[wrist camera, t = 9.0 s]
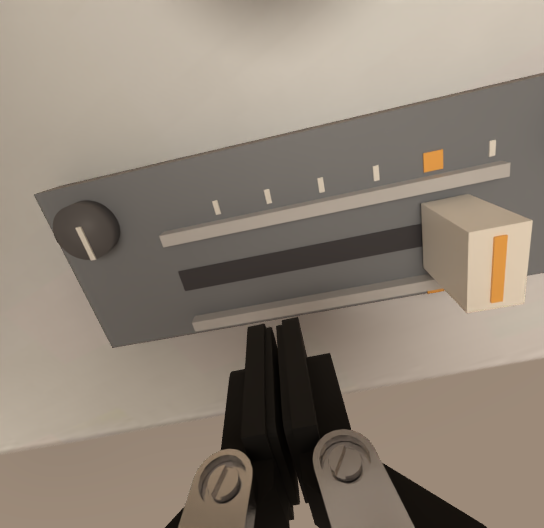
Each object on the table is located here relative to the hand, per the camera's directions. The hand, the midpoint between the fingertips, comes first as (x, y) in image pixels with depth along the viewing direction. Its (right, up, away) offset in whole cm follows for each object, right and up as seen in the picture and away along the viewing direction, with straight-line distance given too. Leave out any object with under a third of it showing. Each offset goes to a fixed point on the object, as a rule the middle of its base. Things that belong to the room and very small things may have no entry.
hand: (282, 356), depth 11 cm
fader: (+10, +5, +8) cm, 13 cm away
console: (+3, +6, +11) cm, 13 cm away
